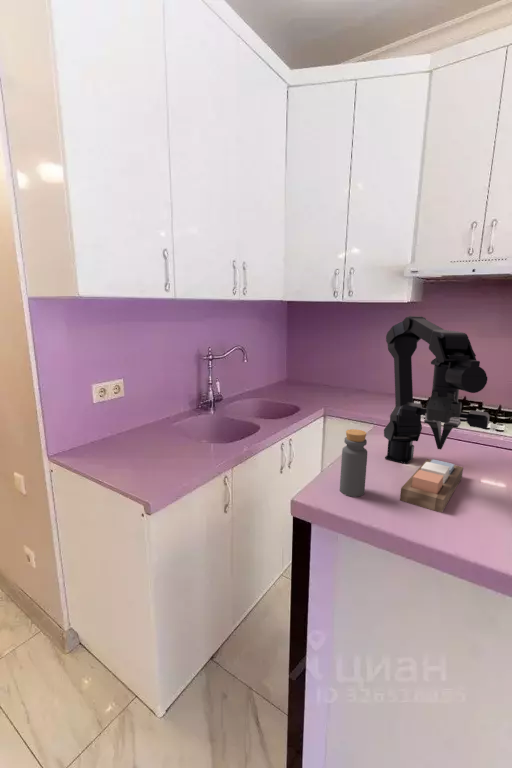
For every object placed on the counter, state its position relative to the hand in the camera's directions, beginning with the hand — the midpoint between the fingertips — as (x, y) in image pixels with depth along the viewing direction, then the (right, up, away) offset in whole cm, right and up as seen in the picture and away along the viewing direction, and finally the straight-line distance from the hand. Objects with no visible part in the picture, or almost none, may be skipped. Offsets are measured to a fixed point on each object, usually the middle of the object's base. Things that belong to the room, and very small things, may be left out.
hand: (439, 448), depth 92 cm
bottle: (-21, -10, 0) cm, 24 cm away
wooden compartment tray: (0, -10, +3) cm, 11 cm away
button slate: (+4, -9, +8) cm, 12 cm away
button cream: (0, -8, +2) cm, 9 cm away
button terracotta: (-5, -9, -3) cm, 11 cm away
